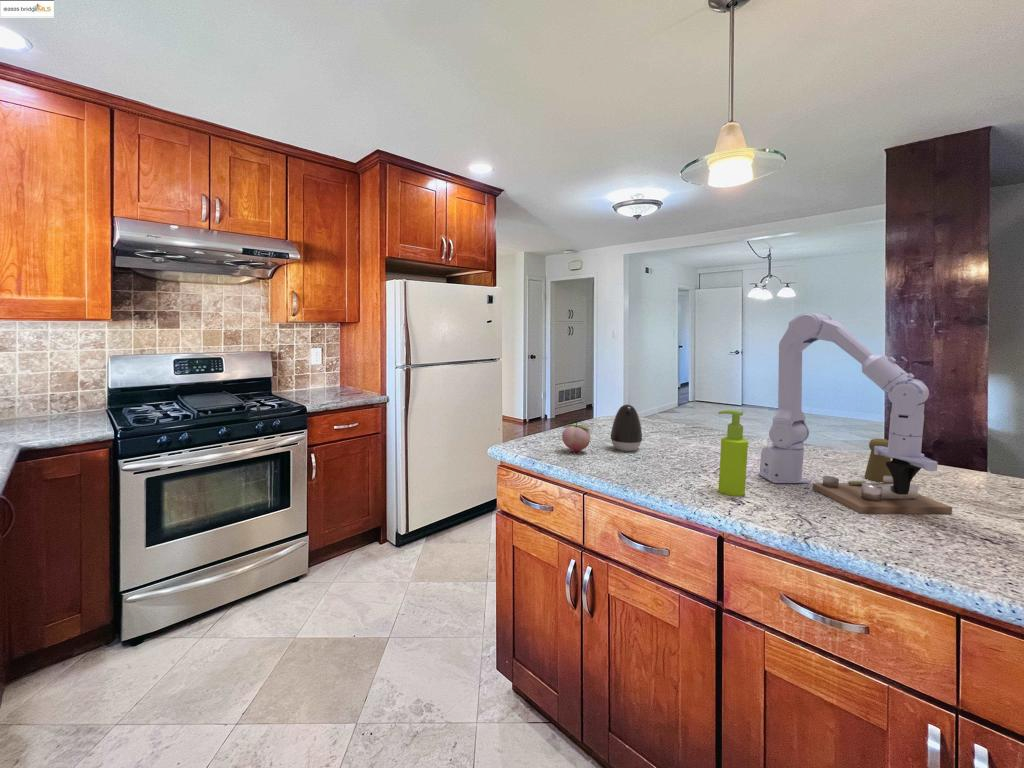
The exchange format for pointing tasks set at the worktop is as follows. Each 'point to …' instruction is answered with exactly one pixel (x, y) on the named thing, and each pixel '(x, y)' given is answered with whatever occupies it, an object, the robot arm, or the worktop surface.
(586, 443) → the decorative fruit
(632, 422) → the black rounded dome
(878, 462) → the cork
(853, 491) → the brown latch board
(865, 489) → the lever handle
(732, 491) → the soap dispenser
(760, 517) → the worktop surface
